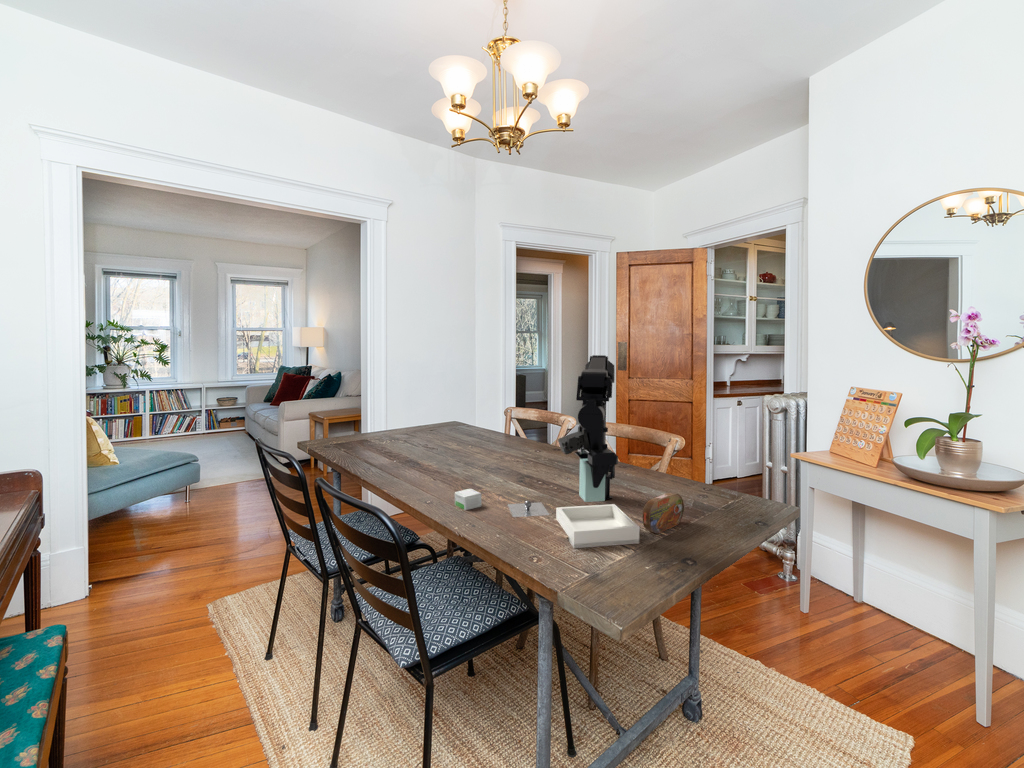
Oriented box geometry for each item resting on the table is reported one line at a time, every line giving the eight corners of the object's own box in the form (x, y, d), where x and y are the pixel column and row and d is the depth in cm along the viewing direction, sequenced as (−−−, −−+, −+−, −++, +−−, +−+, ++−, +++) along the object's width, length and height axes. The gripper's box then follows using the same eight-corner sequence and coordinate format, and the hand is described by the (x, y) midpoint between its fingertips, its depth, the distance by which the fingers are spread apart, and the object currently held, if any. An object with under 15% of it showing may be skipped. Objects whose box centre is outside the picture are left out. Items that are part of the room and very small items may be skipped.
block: (579, 495, 124) (579, 458, 123) (598, 494, 125) (598, 458, 124) (585, 502, 119) (585, 463, 118) (604, 500, 120) (605, 463, 119)
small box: (454, 508, 139) (454, 491, 139) (471, 504, 143) (471, 487, 142) (464, 514, 135) (464, 497, 134) (482, 509, 138) (482, 492, 138)
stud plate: (541, 505, 141) (541, 493, 141) (549, 518, 132) (549, 505, 131) (507, 507, 140) (507, 495, 139) (513, 520, 130) (513, 507, 130)
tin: (650, 537, 119) (651, 503, 119) (639, 533, 122) (640, 500, 121) (684, 522, 129) (685, 491, 128) (674, 519, 131) (675, 488, 130)
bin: (613, 518, 132) (614, 504, 131) (639, 543, 116) (639, 527, 115) (556, 522, 129) (556, 507, 128) (573, 548, 113) (574, 531, 113)
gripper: (552, 417, 128) (551, 475, 130) (572, 430, 110) (571, 498, 111) (593, 416, 130) (592, 473, 131) (619, 429, 112) (618, 495, 113)
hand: (592, 484), depth 122 cm, fingers closed on block, 5 cm apart
